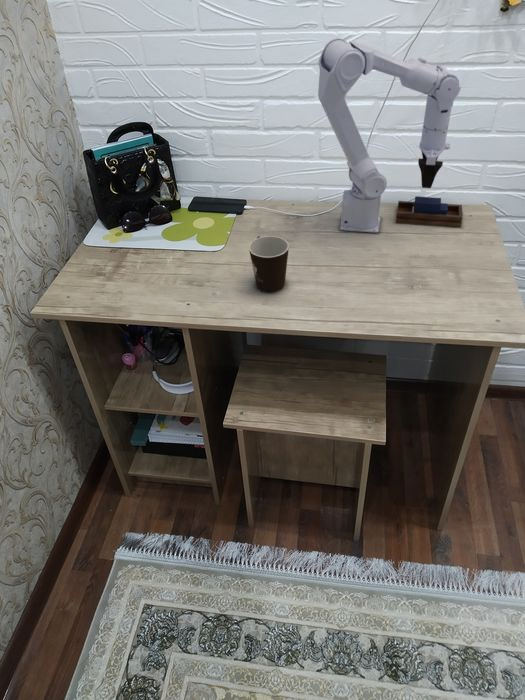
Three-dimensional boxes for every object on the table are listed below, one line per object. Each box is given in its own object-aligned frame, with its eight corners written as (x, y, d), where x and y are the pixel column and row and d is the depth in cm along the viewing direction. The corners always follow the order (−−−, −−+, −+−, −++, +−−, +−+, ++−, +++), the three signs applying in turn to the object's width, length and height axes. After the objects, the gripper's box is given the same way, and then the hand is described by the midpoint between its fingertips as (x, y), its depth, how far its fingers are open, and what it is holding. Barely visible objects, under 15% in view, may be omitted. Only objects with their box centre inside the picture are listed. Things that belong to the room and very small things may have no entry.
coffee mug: (288, 296, 126) (287, 257, 119) (249, 295, 127) (246, 257, 120) (292, 266, 134) (291, 229, 127) (255, 265, 135) (253, 228, 128)
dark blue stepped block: (411, 216, 146) (413, 203, 144) (412, 209, 149) (414, 195, 147) (446, 219, 145) (449, 205, 142) (446, 211, 147) (449, 198, 145)
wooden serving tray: (395, 222, 146) (396, 214, 145) (397, 207, 152) (398, 199, 150) (460, 227, 143) (462, 218, 141) (460, 212, 149) (461, 203, 147)
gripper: (453, 139, 128) (443, 195, 137) (453, 115, 138) (443, 168, 147) (420, 137, 129) (412, 192, 138) (423, 113, 139) (415, 166, 149)
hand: (426, 180), depth 143 cm, fingers open, 7 cm apart
